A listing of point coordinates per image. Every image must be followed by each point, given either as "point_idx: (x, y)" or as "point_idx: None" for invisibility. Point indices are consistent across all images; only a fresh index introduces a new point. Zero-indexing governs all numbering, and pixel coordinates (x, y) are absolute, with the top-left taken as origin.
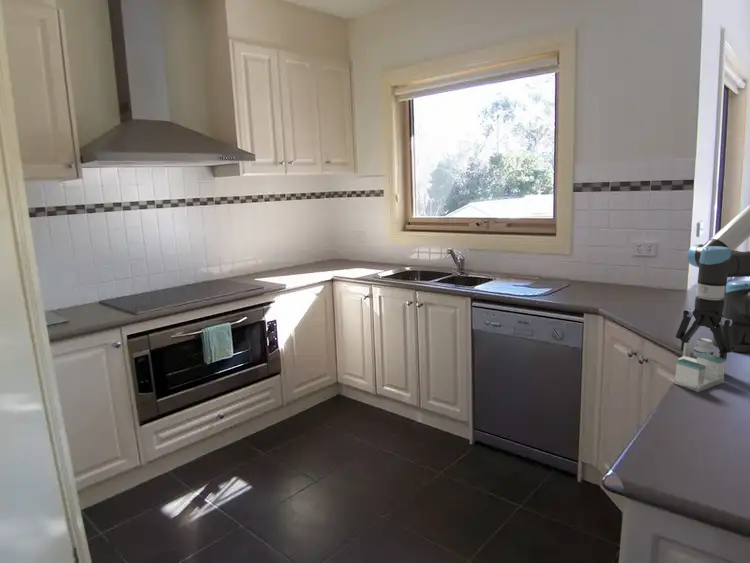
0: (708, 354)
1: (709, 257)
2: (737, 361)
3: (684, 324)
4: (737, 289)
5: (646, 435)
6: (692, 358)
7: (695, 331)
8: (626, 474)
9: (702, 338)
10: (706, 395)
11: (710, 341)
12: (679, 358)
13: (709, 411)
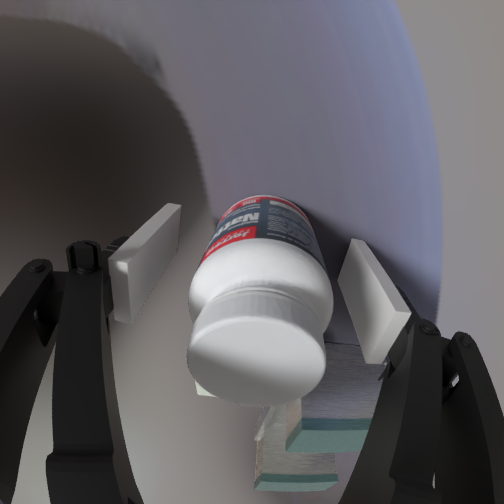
0: (331, 434)
1: None
2: (372, 5)
3: (23, 430)
4: None
5: (296, 499)
6: None
7: (104, 367)
8: None
9: (212, 331)
10: None
11: (314, 369)
12: (199, 388)
13: (354, 459)
